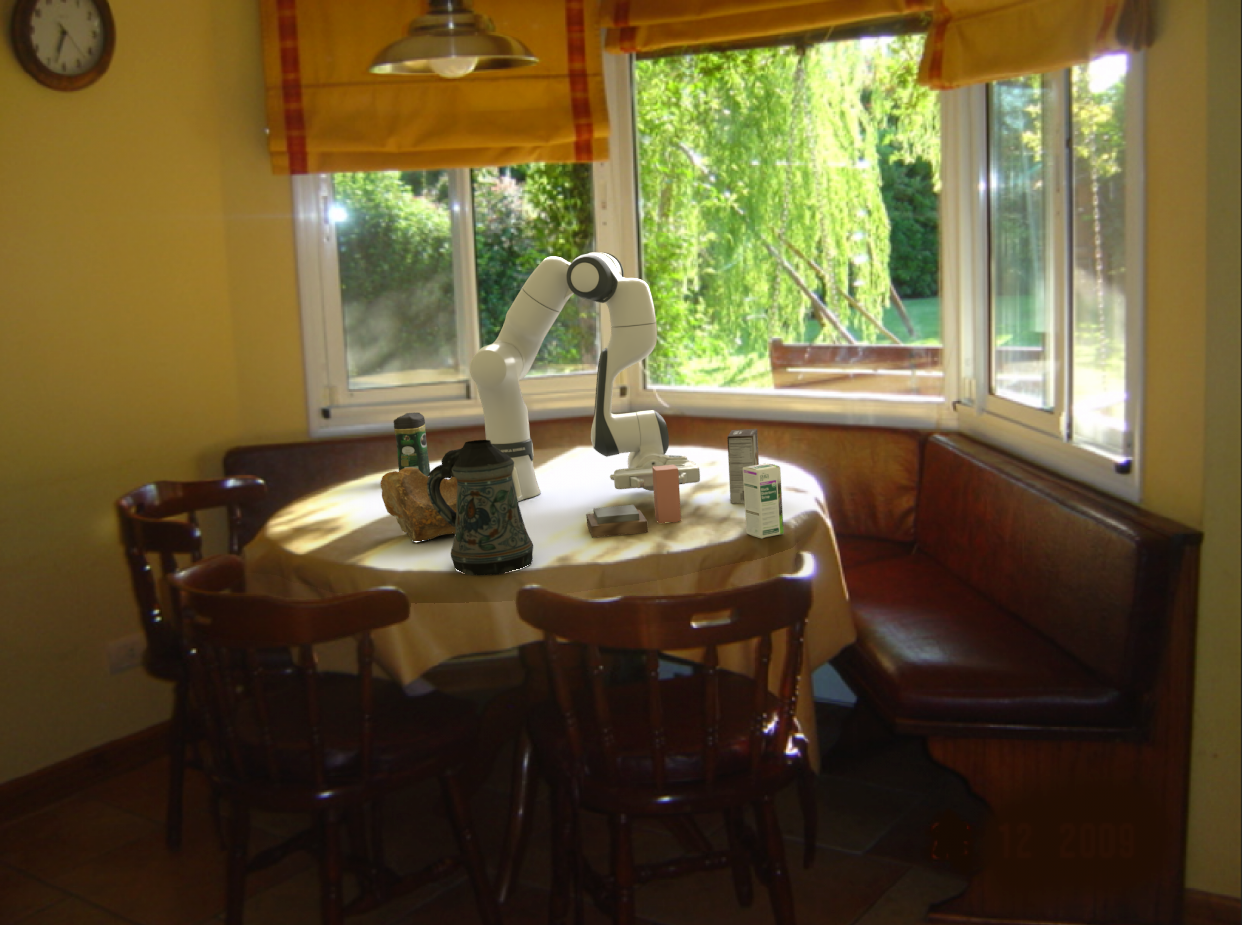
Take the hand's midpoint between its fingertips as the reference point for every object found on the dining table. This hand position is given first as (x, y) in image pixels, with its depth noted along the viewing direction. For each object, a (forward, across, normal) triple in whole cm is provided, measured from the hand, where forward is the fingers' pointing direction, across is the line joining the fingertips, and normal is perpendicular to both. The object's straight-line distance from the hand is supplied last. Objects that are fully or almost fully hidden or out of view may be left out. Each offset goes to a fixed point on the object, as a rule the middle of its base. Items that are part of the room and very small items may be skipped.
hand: (661, 482), depth 272 cm
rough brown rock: (+2, -52, +7) cm, 53 cm away
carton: (+8, 0, +7) cm, 10 cm away
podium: (+11, -12, +7) cm, 18 cm away
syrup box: (+28, +17, +7) cm, 33 cm away
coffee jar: (-69, -59, +7) cm, 91 cm away
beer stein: (+32, -41, +7) cm, 52 cm away
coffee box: (-6, +21, +7) cm, 23 cm away
